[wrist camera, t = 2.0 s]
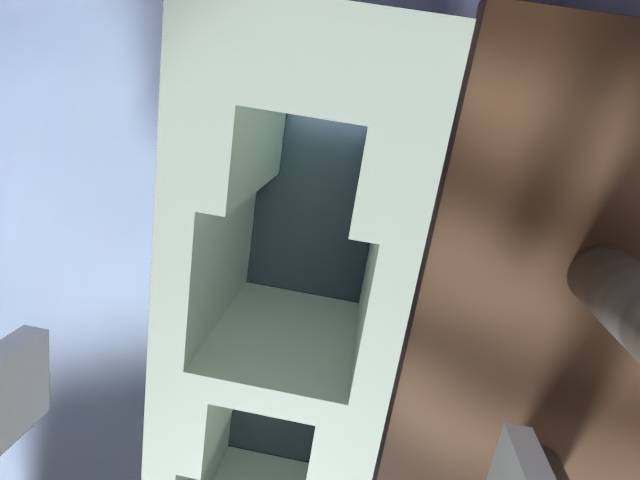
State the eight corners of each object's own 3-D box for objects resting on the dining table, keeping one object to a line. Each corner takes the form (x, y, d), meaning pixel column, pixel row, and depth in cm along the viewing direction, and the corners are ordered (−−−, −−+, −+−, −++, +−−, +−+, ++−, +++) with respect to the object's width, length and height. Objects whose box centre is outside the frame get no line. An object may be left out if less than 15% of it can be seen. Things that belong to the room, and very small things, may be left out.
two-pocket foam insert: (245, 17, 18) (164, -26, 11) (439, 46, 17) (476, 18, 11) (202, 479, 24) (134, 627, 17) (342, 510, 24) (327, 674, 17)
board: (478, 4, 17) (629, -131, 7) (850, 57, 16) (1678, -2, 6) (354, 553, 24) (335, 885, 14) (602, 608, 24) (771, 1002, 13)
